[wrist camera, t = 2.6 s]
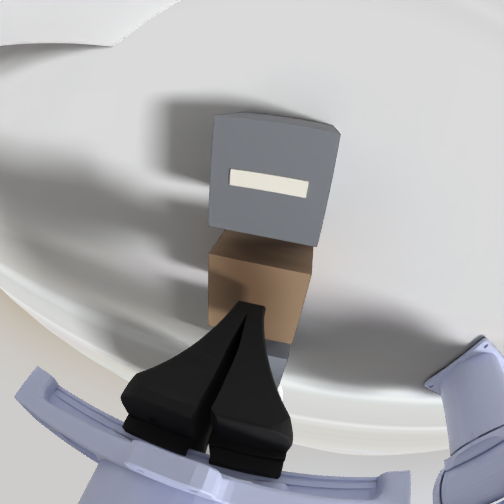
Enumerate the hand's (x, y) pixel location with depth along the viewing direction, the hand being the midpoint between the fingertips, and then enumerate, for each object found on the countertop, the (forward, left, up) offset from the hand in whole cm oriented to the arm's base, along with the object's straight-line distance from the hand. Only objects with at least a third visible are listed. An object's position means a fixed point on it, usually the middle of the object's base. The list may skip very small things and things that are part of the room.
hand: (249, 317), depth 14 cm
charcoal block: (+3, -6, -6) cm, 9 cm away
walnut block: (0, 0, -6) cm, 6 cm away
